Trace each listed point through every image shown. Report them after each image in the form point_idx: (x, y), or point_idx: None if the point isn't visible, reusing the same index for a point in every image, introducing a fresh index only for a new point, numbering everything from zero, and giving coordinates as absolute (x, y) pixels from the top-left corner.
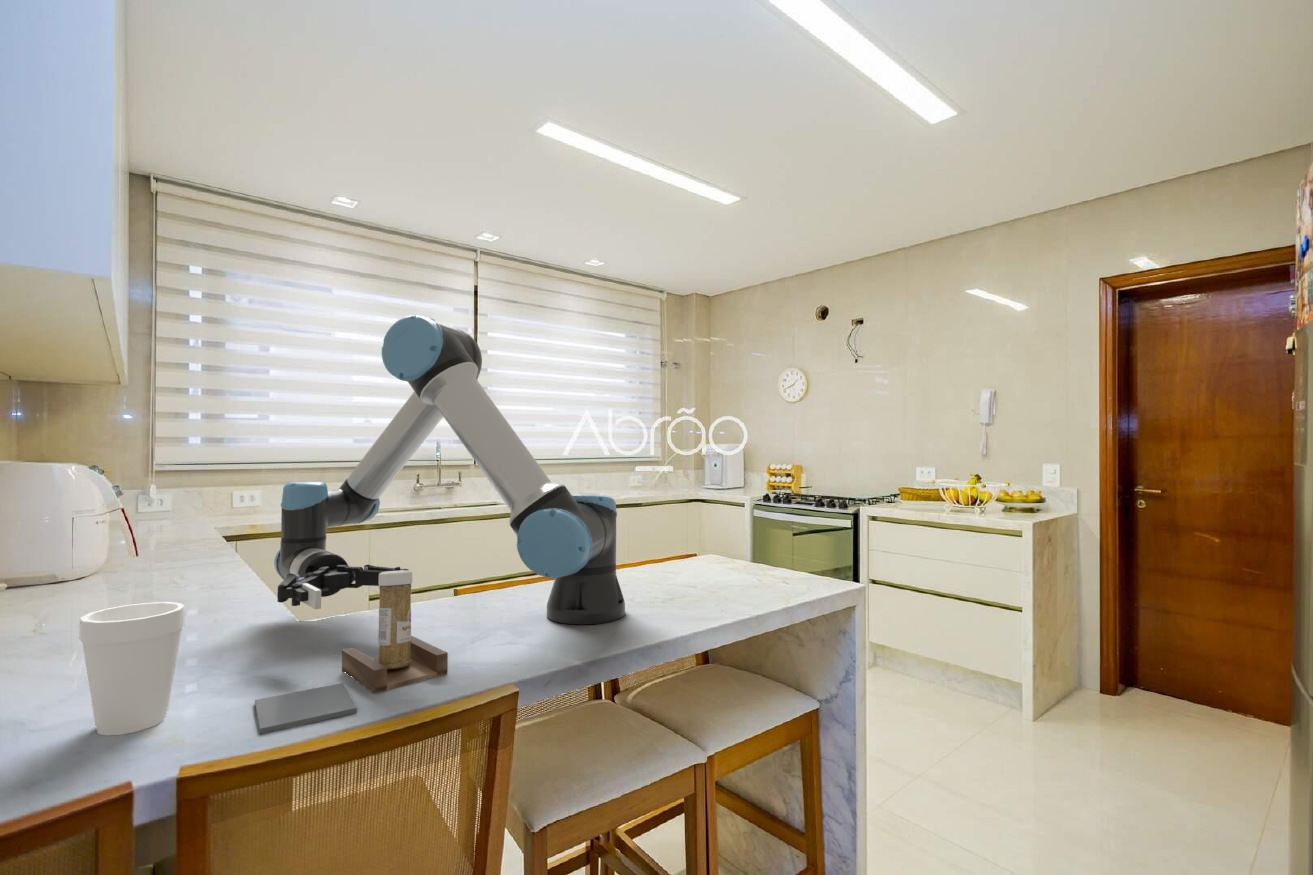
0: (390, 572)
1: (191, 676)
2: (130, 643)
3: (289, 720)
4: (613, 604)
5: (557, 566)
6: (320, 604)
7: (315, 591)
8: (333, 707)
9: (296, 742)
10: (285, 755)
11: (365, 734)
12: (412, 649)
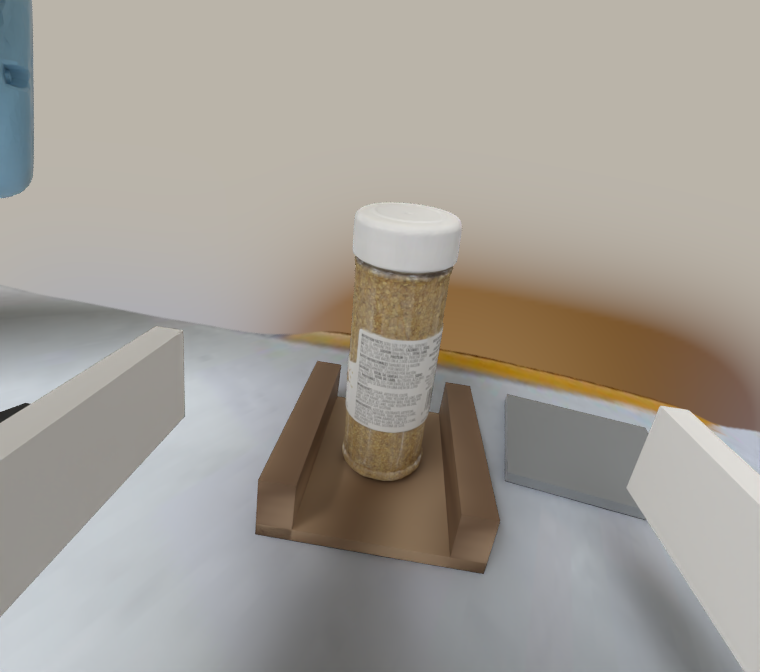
0: (437, 210)
1: None
2: None
3: (604, 421)
4: None
5: (33, 158)
6: (635, 470)
7: (690, 417)
8: (539, 412)
9: (587, 396)
10: (597, 386)
11: (508, 367)
12: (314, 446)
